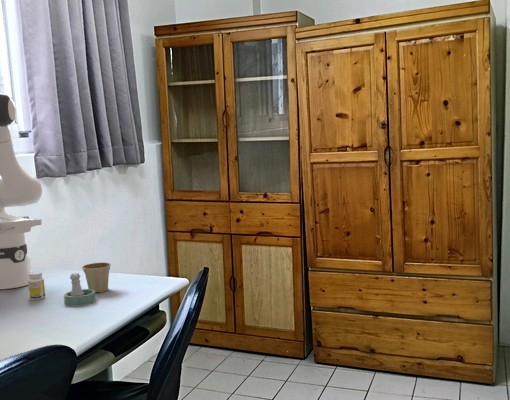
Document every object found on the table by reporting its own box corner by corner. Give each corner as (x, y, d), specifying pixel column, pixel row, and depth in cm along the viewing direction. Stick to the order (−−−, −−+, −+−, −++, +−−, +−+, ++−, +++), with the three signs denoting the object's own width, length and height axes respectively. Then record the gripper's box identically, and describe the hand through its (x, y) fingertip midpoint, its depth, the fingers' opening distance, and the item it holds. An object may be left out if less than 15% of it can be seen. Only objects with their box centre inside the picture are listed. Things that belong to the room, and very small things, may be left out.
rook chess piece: (68, 299, 186) (65, 274, 185) (81, 296, 189) (78, 271, 188) (74, 301, 183) (71, 276, 182) (87, 298, 186) (84, 273, 185)
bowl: (58, 303, 184) (57, 295, 183) (81, 296, 191) (81, 287, 191) (78, 307, 179) (77, 298, 178) (101, 299, 186) (100, 290, 186)
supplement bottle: (38, 295, 195) (36, 270, 194) (48, 297, 193) (46, 271, 192) (26, 299, 191) (24, 273, 190) (36, 300, 189) (34, 275, 188)
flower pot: (105, 294, 192) (103, 268, 191) (78, 294, 194) (76, 268, 193) (117, 287, 201) (115, 262, 200) (92, 286, 203) (90, 262, 202)
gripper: (-4, 218, 157) (47, 212, 166) (-28, 212, 172) (20, 207, 181) (-1, 242, 157) (49, 234, 167) (-26, 234, 173) (22, 227, 182)
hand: (34, 220), depth 174 cm, fingers open, 8 cm apart
